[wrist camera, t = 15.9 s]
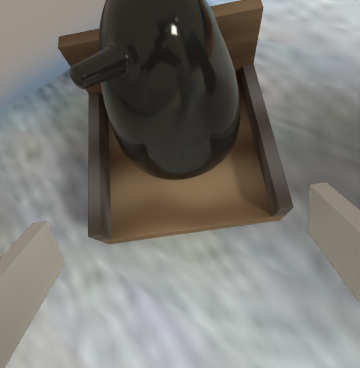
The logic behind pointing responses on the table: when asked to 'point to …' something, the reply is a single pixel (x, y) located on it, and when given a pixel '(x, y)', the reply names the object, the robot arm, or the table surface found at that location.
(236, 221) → the stand
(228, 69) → the pump dispenser
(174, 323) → the table surface
